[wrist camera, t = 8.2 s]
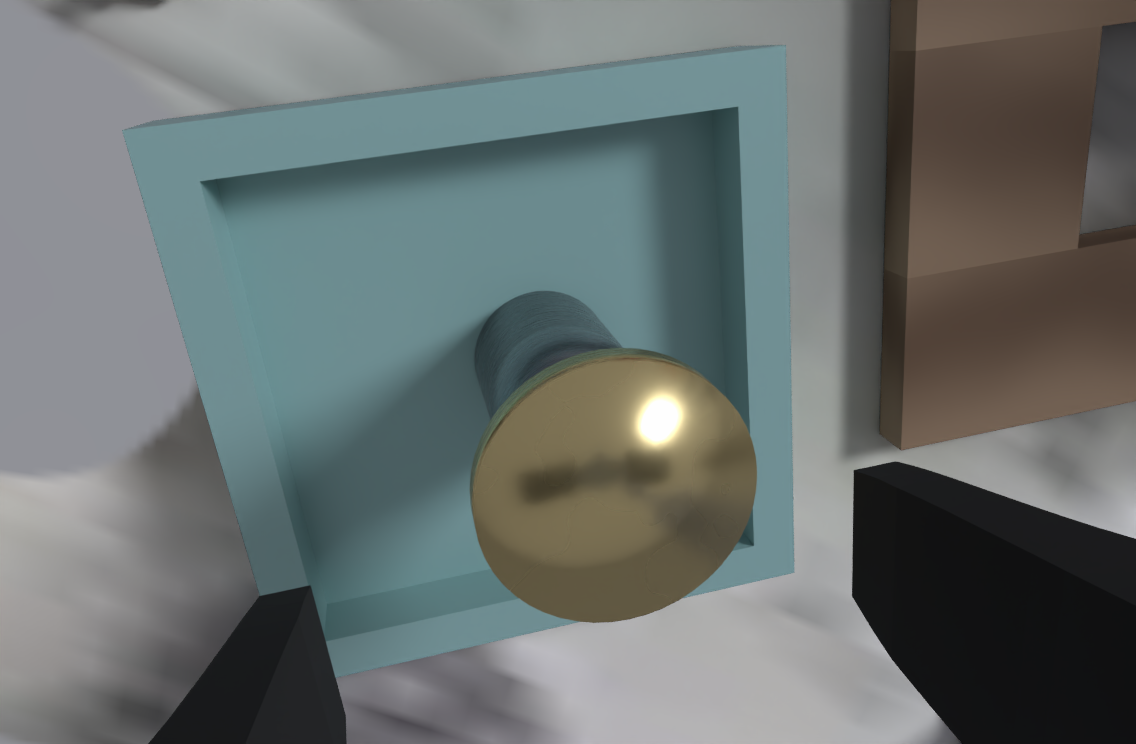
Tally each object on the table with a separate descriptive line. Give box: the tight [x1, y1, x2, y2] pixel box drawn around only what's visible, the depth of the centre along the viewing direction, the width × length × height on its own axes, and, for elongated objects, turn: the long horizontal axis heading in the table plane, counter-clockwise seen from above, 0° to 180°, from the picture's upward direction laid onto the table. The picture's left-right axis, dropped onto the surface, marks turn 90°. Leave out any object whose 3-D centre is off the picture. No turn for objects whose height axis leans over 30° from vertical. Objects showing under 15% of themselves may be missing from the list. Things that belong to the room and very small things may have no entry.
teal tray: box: [122, 45, 794, 678], centre depth 19 cm, size 12×12×2 cm
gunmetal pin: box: [469, 291, 757, 623], centre depth 16 cm, size 4×4×7 cm
